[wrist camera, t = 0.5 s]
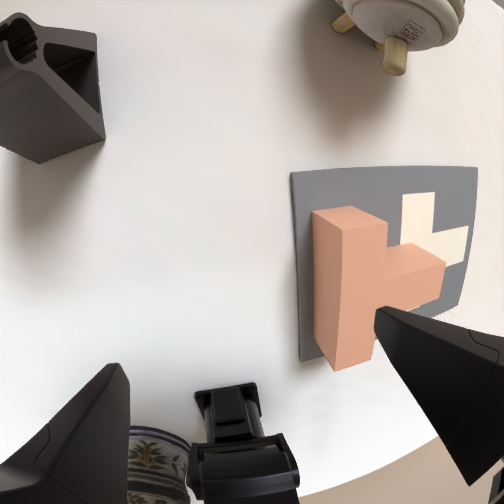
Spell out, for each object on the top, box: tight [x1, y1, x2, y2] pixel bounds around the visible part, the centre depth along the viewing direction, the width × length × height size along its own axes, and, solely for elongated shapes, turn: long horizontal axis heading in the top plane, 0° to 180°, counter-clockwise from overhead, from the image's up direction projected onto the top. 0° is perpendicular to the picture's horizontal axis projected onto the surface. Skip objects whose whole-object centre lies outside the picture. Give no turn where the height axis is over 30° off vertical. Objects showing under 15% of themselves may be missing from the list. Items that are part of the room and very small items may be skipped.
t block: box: [312, 206, 446, 372], centre depth 21 cm, size 12×10×5 cm
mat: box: [291, 166, 478, 362], centre depth 24 cm, size 18×23×1 cm
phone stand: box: [0, 13, 106, 164], centre depth 9 cm, size 9×6×12 cm, turn 8°
